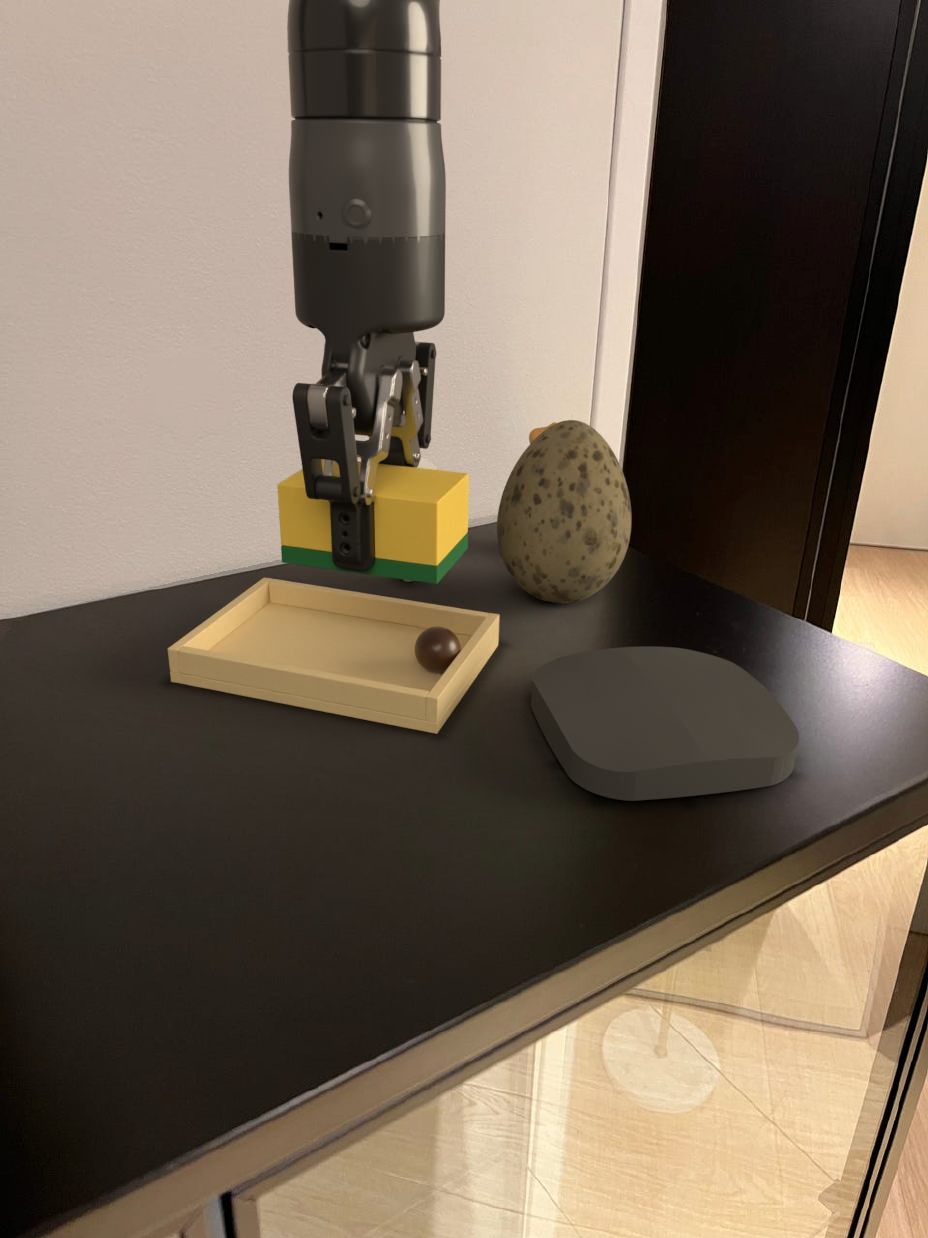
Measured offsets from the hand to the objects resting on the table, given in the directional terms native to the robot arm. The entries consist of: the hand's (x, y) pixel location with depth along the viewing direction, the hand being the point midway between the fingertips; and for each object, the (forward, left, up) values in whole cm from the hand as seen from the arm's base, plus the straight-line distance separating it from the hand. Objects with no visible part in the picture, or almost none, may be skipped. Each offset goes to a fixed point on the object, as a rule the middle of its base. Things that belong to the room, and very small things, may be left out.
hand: (375, 547), depth 57 cm
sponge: (0, 0, 0) cm, 0 cm away
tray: (-7, +10, -14) cm, 19 cm away
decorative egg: (+5, +27, -14) cm, 31 cm away
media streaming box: (+16, +8, -14) cm, 23 cm away
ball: (0, +10, -11) cm, 15 cm away
